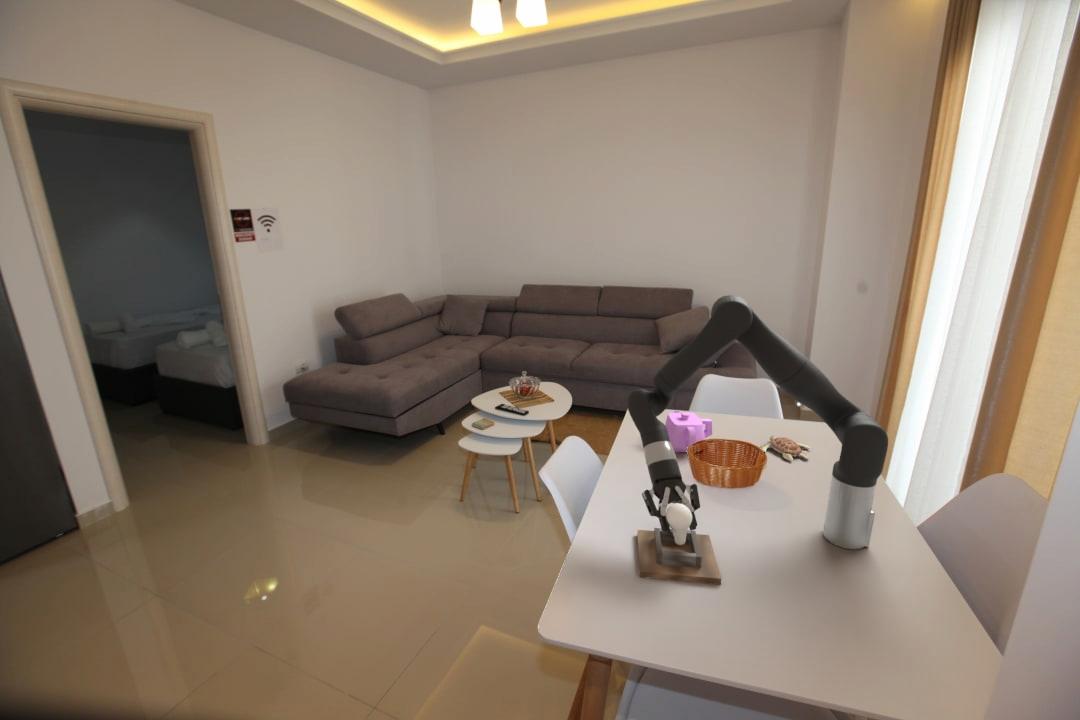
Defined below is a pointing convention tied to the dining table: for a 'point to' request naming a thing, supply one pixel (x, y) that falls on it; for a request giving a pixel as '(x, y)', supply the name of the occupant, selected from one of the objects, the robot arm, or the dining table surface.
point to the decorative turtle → (786, 447)
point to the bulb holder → (677, 557)
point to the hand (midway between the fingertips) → (680, 531)
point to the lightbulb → (679, 521)
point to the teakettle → (686, 429)
